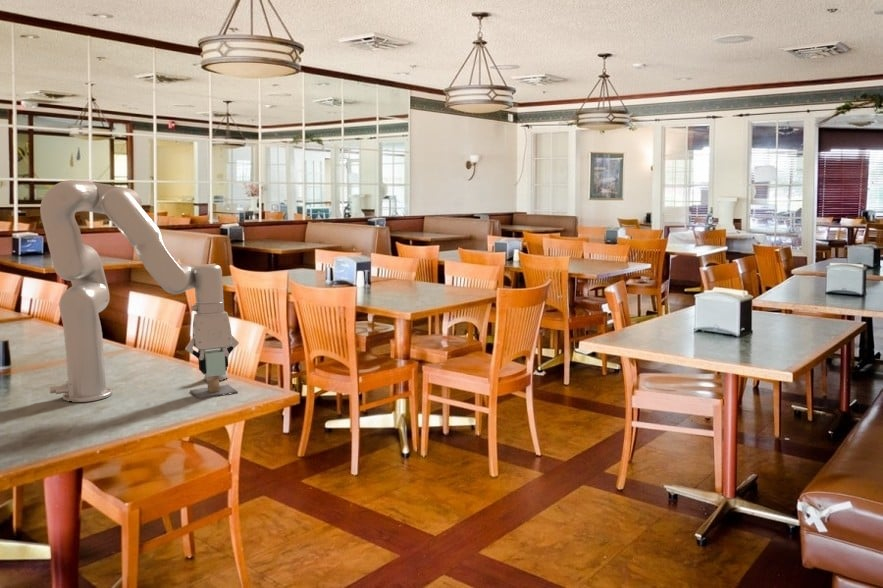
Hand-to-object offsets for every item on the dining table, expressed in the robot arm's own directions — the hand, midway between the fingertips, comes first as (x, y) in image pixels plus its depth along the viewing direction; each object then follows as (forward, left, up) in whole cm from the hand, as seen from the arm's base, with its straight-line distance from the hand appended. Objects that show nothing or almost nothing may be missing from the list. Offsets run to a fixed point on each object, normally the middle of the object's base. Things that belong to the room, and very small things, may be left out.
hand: (213, 370), depth 216 cm
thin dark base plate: (0, 0, -6) cm, 6 cm away
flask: (+5, +15, -7) cm, 17 cm away
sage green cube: (0, 0, -1) cm, 1 cm away
